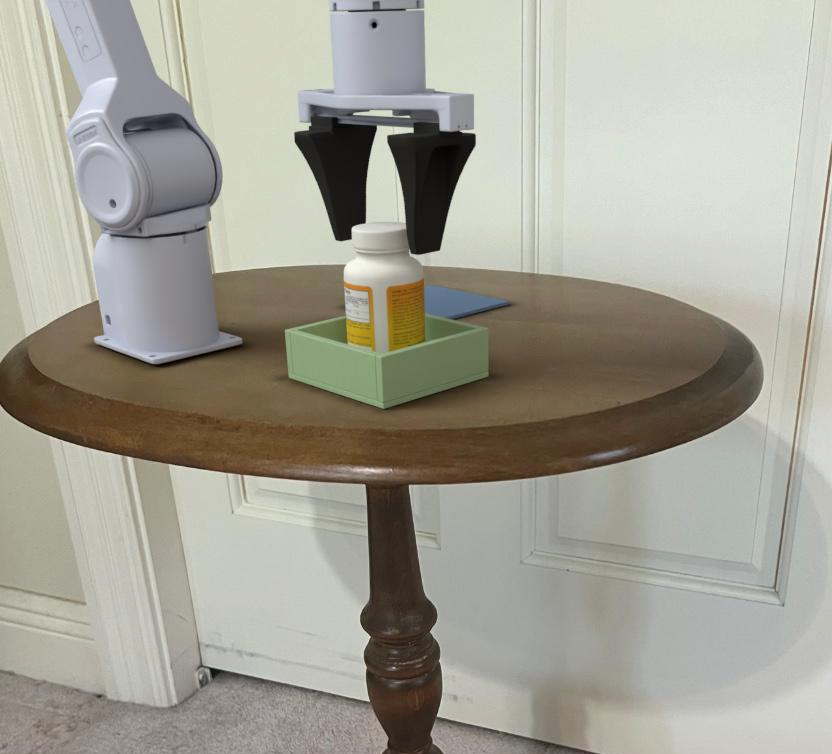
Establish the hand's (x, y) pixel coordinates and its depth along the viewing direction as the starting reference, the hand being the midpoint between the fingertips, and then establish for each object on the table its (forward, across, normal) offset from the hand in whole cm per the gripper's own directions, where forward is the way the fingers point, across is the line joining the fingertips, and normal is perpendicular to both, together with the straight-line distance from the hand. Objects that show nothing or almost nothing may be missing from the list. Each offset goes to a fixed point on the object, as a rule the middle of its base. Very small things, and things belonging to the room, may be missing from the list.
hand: (386, 245), depth 72 cm
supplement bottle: (+9, 0, 0) cm, 9 cm away
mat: (+9, +14, -16) cm, 23 cm away
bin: (+9, 0, 0) cm, 9 cm away
